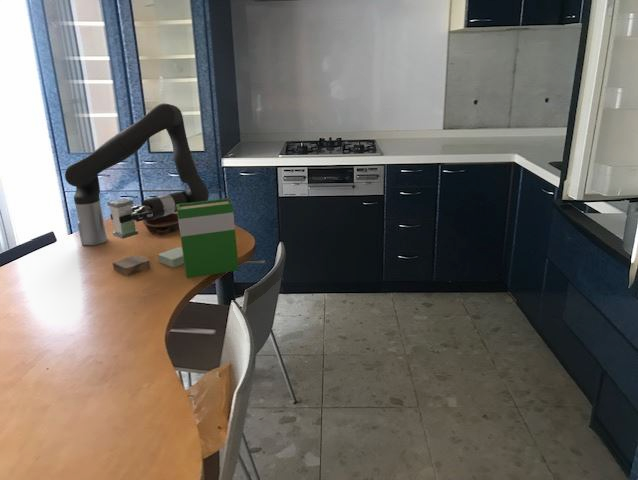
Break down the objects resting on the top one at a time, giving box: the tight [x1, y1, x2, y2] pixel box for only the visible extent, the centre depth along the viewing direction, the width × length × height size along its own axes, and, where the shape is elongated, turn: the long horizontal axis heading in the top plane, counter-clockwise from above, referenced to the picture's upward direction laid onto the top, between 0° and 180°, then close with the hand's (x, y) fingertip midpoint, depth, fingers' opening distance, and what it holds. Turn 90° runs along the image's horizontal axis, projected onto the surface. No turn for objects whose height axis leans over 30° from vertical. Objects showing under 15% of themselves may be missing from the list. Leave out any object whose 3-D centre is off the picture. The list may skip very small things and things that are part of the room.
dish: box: [142, 212, 180, 236], centre depth 220 cm, size 18×22×5 cm
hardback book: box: [176, 197, 240, 279], centre depth 173 cm, size 18×7×24 cm, turn 108°
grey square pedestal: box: [106, 197, 139, 239], centre depth 173 cm, size 6×6×12 cm
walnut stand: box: [112, 254, 151, 278], centre depth 180 cm, size 9×9×3 cm
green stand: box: [157, 246, 184, 268], centre depth 185 cm, size 9×9×3 cm
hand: (115, 218), depth 171 cm, fingers closed on grey square pedestal, 5 cm apart
